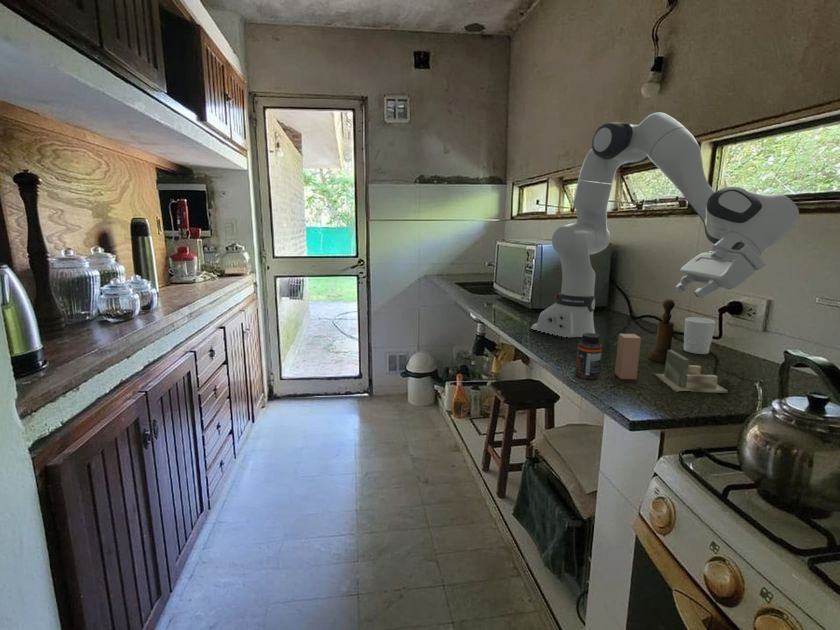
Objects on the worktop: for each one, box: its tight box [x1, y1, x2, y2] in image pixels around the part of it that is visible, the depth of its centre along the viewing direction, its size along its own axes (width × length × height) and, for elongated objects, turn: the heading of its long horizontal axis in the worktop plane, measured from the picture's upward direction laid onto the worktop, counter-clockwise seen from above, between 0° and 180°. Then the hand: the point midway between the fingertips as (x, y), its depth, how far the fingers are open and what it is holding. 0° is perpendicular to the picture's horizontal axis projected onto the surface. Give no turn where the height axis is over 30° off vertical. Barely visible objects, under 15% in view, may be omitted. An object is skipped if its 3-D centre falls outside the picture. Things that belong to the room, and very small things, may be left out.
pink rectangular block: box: [614, 333, 642, 380], centre depth 114 cm, size 4×4×11 cm
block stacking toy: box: [654, 349, 729, 394], centre depth 109 cm, size 12×11×8 cm
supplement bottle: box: [575, 333, 603, 380], centre depth 114 cm, size 6×6×11 cm
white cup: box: [683, 316, 716, 355], centre depth 136 cm, size 8×8×10 cm
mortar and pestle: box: [649, 298, 675, 364], centre depth 127 cm, size 7×6×18 cm
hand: (686, 293), depth 109 cm, fingers open, 8 cm apart
